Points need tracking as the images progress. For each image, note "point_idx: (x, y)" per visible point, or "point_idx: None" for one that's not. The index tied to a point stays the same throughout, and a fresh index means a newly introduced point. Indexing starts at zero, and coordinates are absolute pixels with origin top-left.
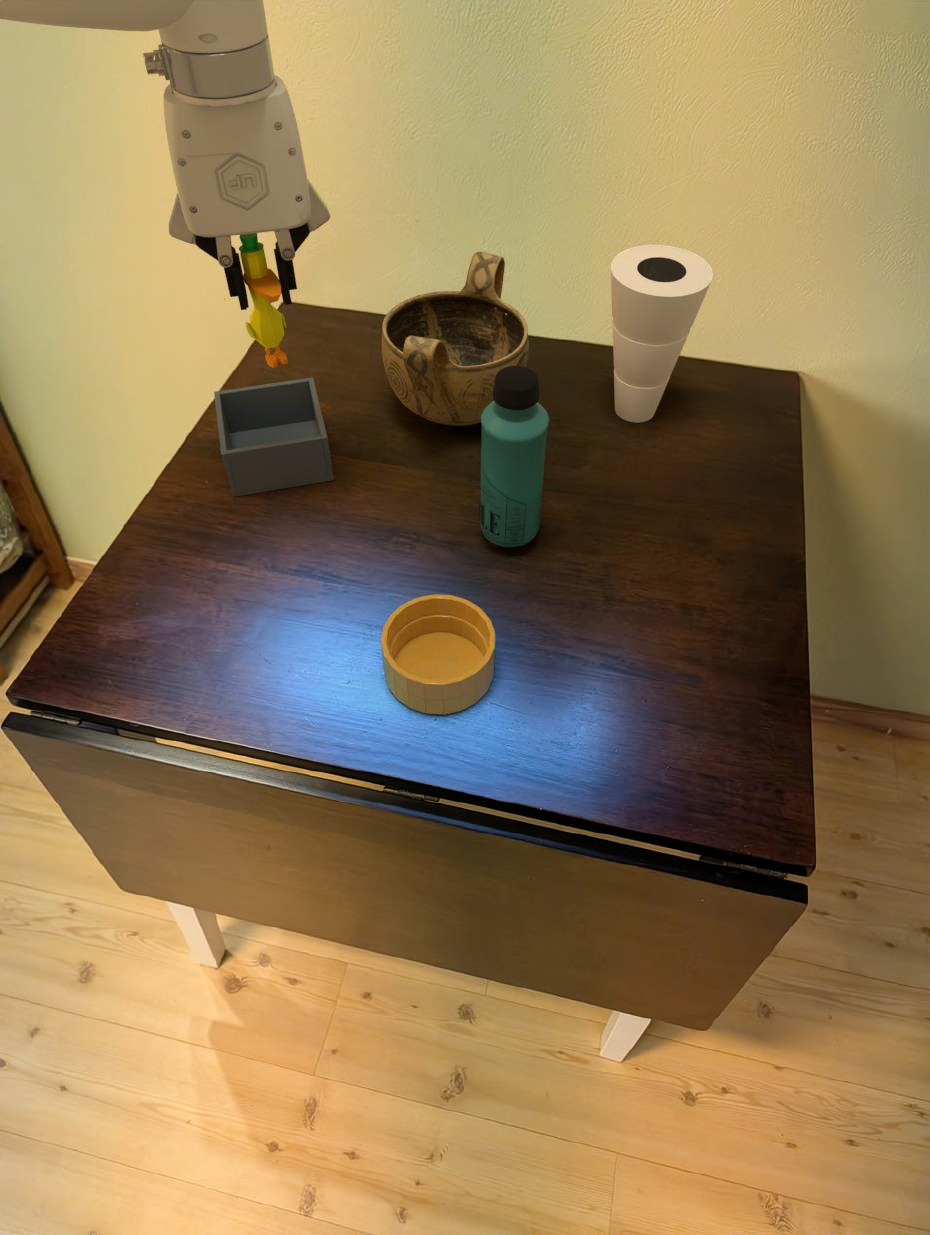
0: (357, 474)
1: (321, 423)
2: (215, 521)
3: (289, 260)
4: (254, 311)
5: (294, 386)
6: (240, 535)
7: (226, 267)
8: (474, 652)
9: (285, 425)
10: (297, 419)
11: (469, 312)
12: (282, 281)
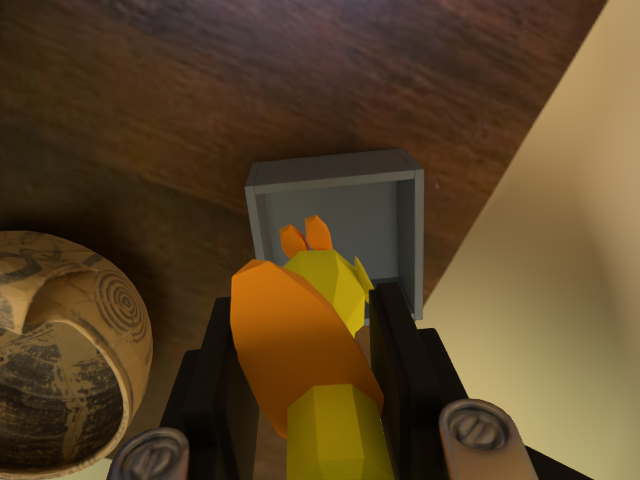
0: (216, 171)
1: (254, 224)
2: (432, 98)
3: (158, 427)
4: (350, 320)
5: None
6: (397, 59)
7: (468, 399)
8: None
9: None
10: None
11: (1, 444)
12: (222, 348)
